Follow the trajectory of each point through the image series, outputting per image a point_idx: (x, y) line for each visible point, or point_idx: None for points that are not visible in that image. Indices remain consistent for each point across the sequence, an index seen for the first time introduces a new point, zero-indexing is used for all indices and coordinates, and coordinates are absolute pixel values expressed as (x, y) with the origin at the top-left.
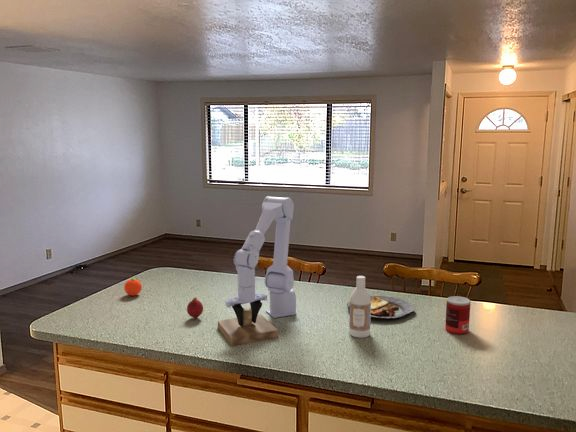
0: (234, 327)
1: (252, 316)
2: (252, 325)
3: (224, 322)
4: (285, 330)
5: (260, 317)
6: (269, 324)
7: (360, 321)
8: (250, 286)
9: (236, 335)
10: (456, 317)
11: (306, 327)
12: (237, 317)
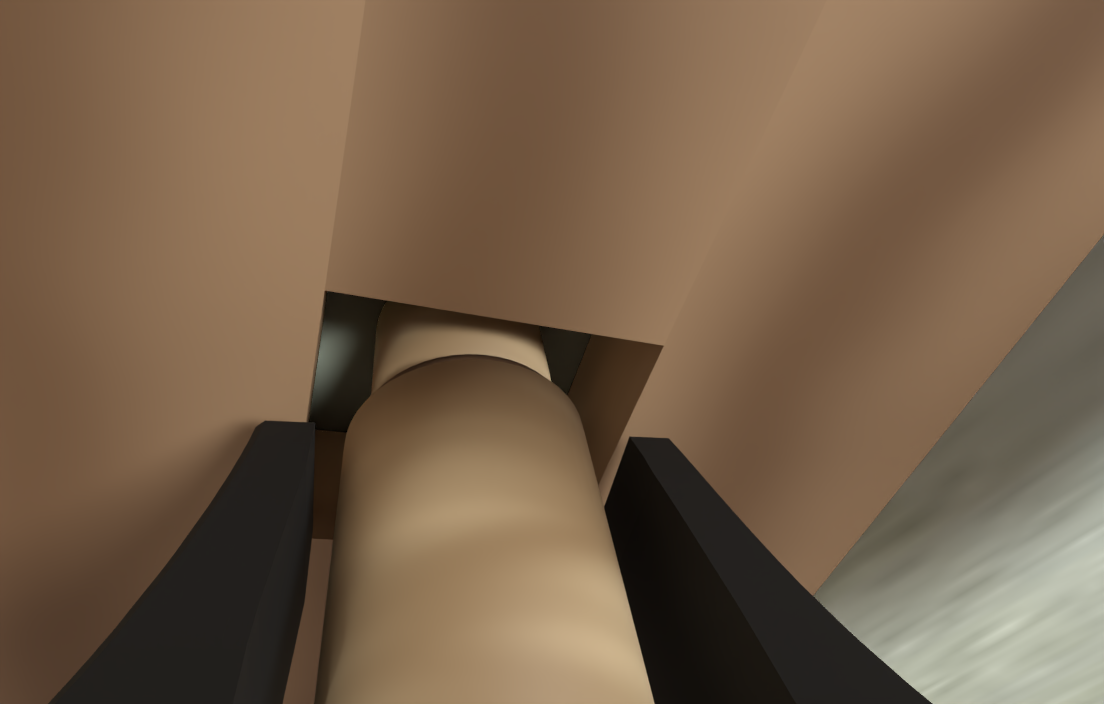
0: (129, 405)
1: (661, 583)
2: (622, 373)
3: None
4: (903, 532)
5: (1021, 237)
6: (799, 569)
7: None
8: None
9: (46, 680)
10: None
11: (1099, 563)
12: (188, 573)
